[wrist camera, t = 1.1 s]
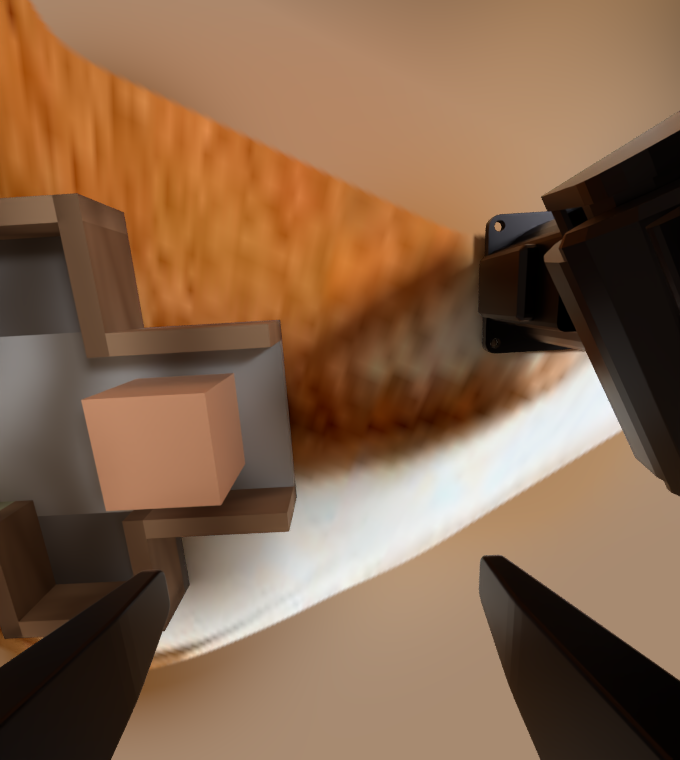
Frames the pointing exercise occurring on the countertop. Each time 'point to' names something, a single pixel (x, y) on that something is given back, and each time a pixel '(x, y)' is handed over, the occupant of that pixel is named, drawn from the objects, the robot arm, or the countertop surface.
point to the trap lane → (68, 424)
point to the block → (166, 441)
